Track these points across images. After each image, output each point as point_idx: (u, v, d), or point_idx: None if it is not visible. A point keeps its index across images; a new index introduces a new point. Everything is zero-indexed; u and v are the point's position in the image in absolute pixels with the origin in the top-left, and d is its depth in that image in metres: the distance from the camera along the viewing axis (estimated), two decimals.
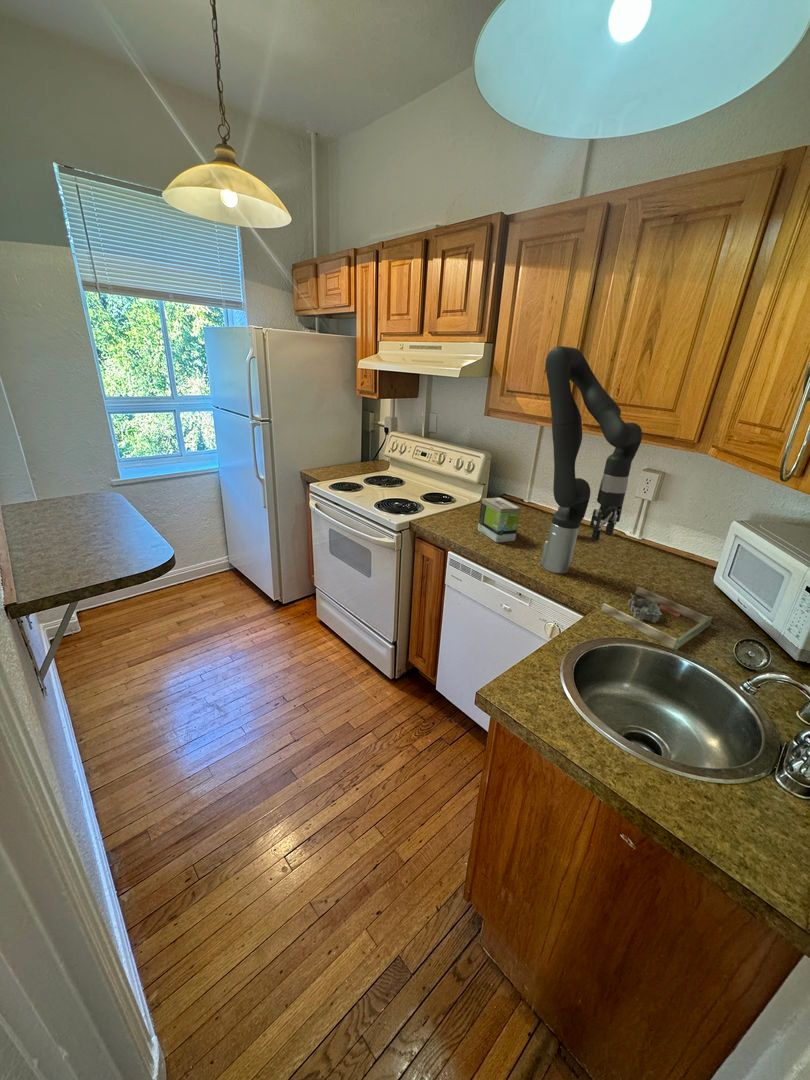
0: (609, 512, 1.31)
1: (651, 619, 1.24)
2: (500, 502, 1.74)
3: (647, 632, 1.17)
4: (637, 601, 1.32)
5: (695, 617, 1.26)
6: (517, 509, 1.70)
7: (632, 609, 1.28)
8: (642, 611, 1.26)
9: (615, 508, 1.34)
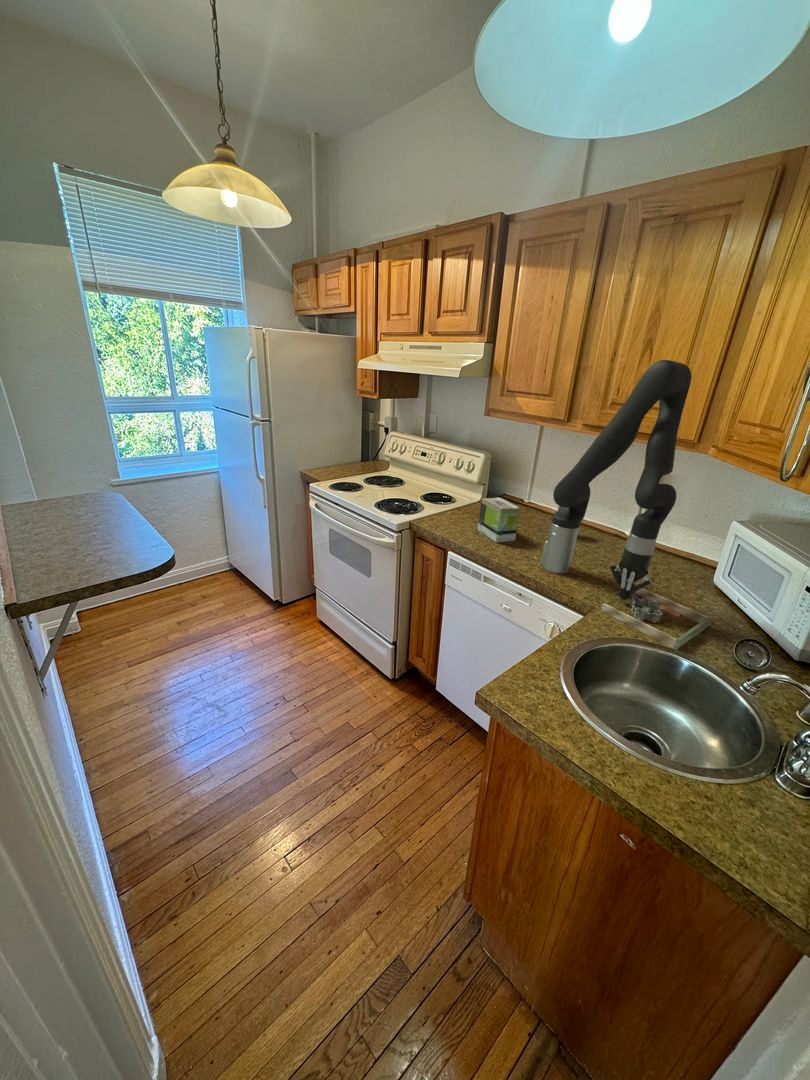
0: None
1: (652, 619, 1.24)
2: (500, 502, 1.74)
3: (647, 632, 1.17)
4: (638, 601, 1.32)
5: (695, 617, 1.26)
6: (517, 509, 1.70)
7: (633, 609, 1.28)
8: (643, 611, 1.26)
9: None
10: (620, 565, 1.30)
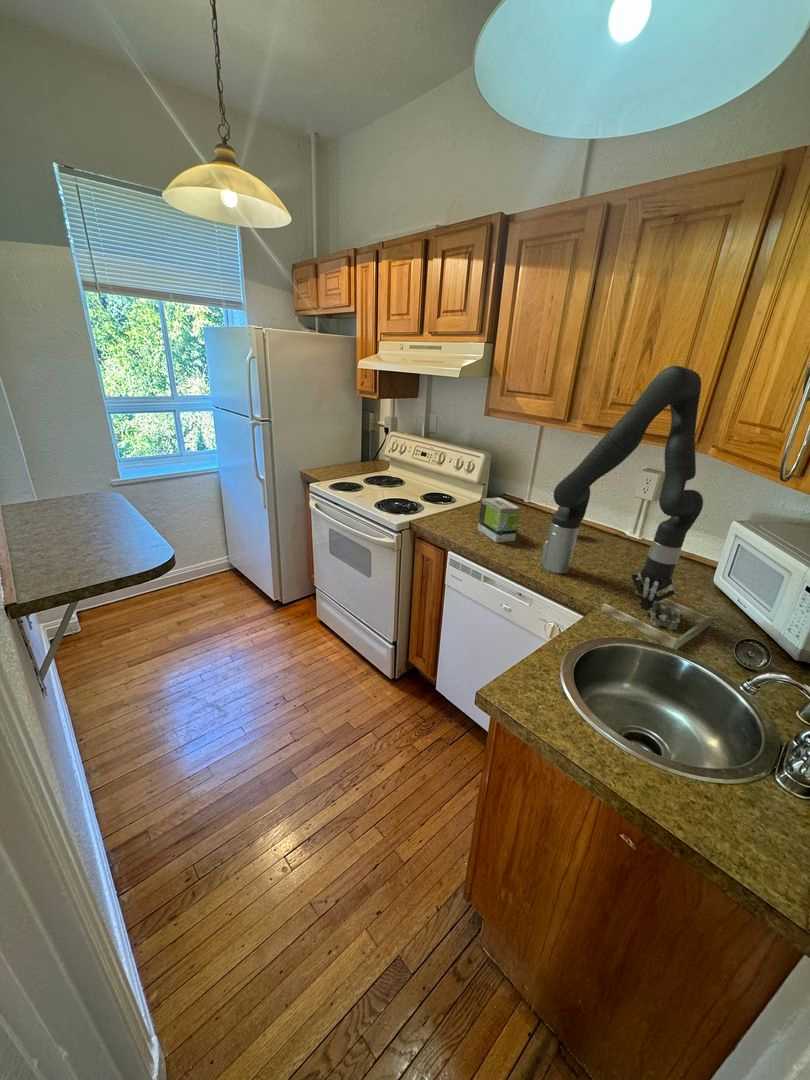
0: None
1: (667, 626, 1.21)
2: (500, 502, 1.74)
3: (647, 632, 1.17)
4: (660, 608, 1.29)
5: (695, 617, 1.26)
6: (517, 509, 1.70)
7: None
8: (660, 617, 1.23)
9: None
10: (642, 574, 1.25)
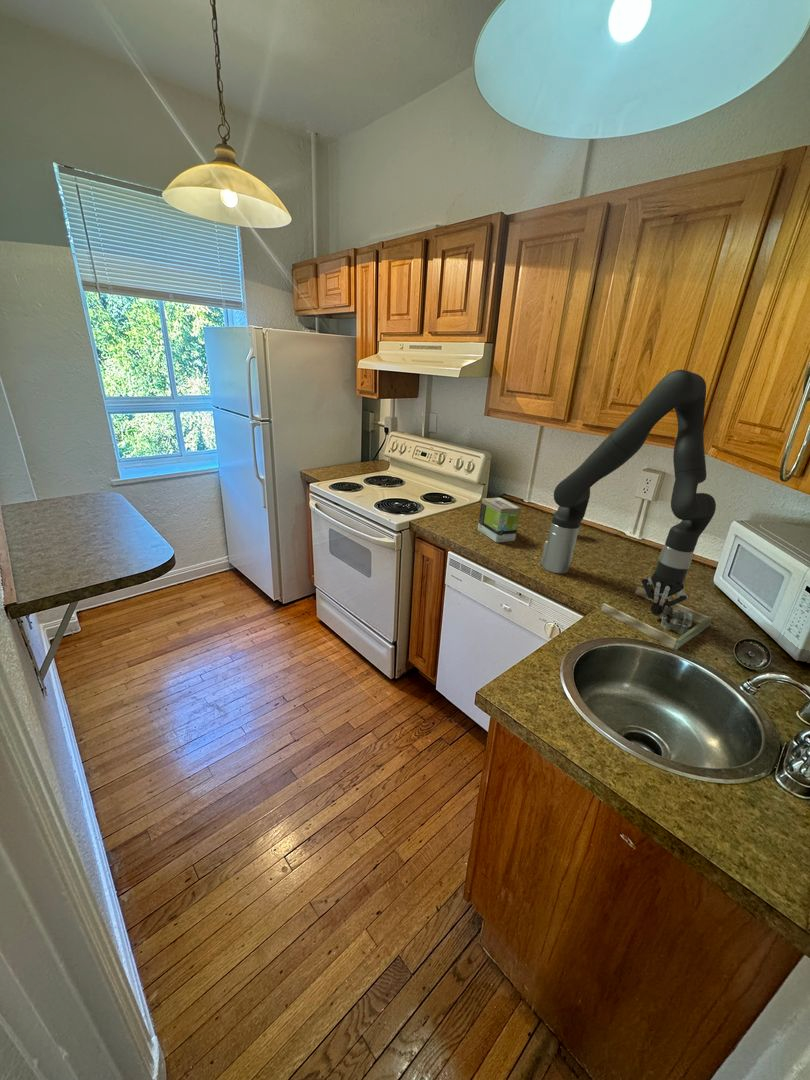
0: None
1: (678, 630, 1.19)
2: (500, 502, 1.74)
3: (647, 632, 1.17)
4: (672, 612, 1.27)
5: (695, 617, 1.26)
6: (517, 509, 1.70)
7: None
8: (671, 621, 1.22)
9: None
10: (653, 579, 1.23)
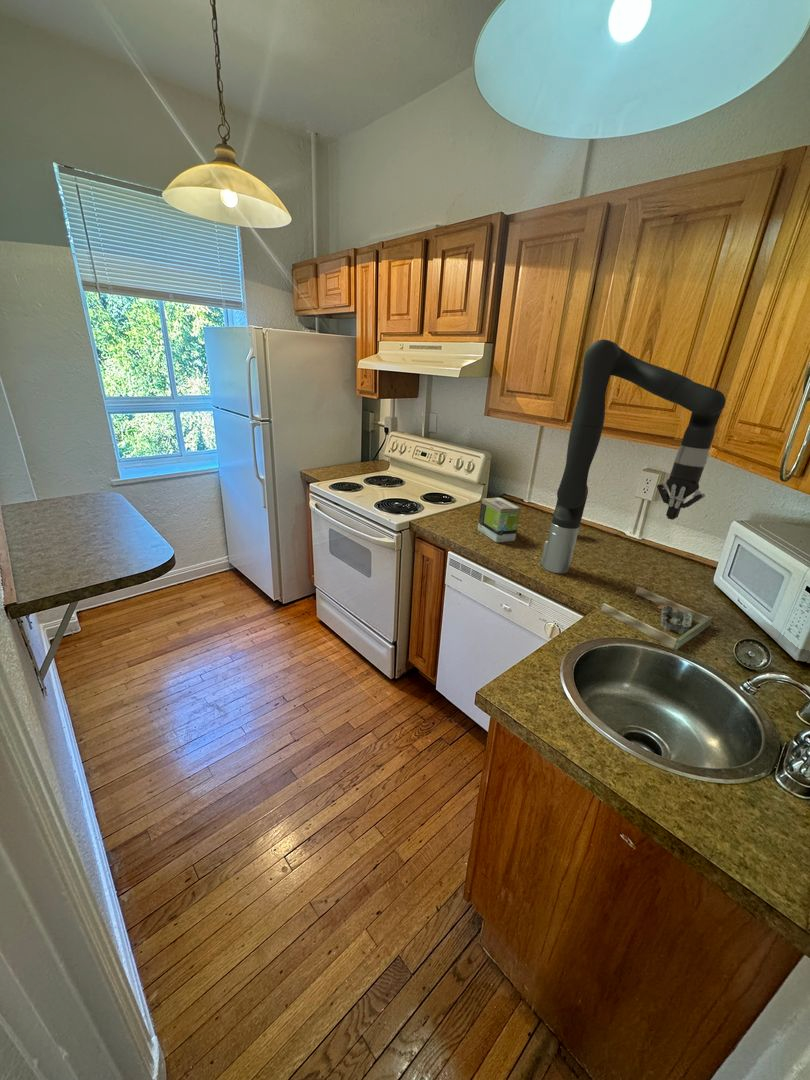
0: None
1: (678, 630, 1.19)
2: (500, 502, 1.74)
3: (647, 632, 1.17)
4: (672, 612, 1.27)
5: (695, 617, 1.26)
6: (517, 509, 1.70)
7: (662, 618, 1.24)
8: (671, 621, 1.22)
9: None
10: (668, 482, 1.26)
